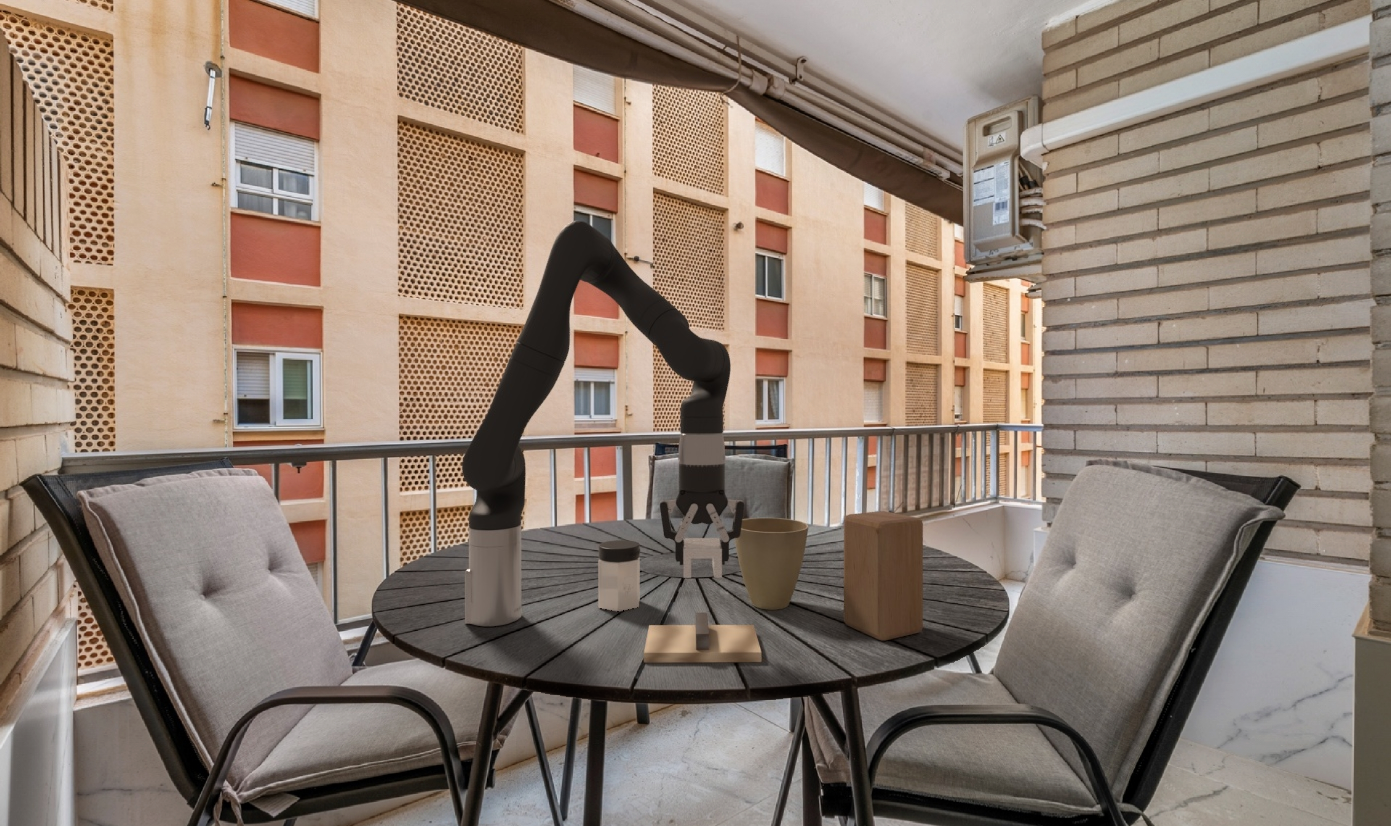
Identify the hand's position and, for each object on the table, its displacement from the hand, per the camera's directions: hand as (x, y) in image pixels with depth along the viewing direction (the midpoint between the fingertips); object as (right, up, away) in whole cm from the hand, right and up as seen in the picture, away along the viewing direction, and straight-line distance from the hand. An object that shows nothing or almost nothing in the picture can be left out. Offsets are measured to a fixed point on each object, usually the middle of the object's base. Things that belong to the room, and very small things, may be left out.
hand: (701, 563), depth 100 cm
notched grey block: (0, -1, 0) cm, 1 cm away
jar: (-16, -14, +22) cm, 30 cm away
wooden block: (+32, -14, +8) cm, 36 cm away
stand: (0, -14, 0) cm, 14 cm away
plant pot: (+14, -14, +22) cm, 29 cm away
